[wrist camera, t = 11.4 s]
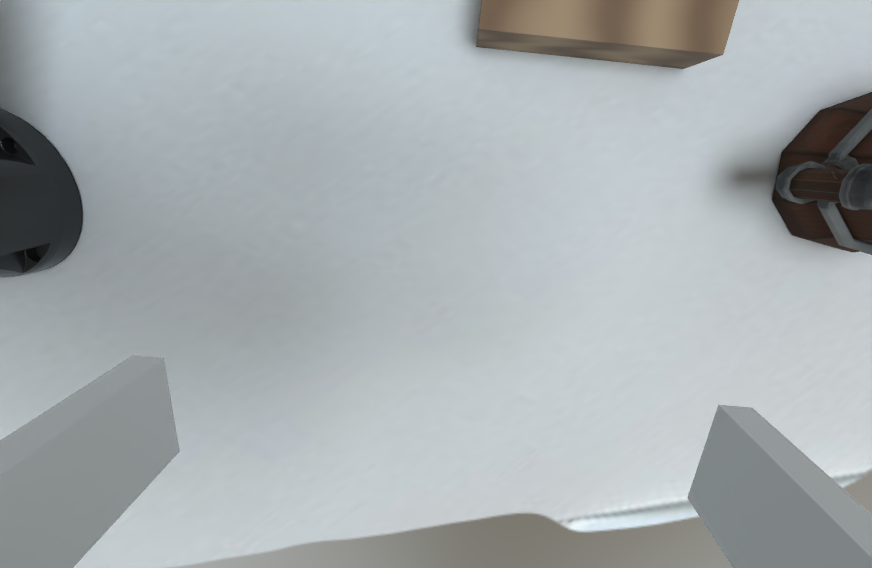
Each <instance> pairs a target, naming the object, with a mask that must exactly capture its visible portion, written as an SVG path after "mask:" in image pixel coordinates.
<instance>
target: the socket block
mask: <svg viewBox="0 0 872 568" xmlns="http://www.w3.org/2000/svg"><path fill="white" fill-rule="evenodd" d="M738 2H739V0H482V4H481V13H480V21H479V29H478V37H477V46H476V47H483V48H493V49H502V50H512V51H521V52H531V53H540V54H550V55H559V56H569V57H578V58H587V59H597V60H606V61H616V62H625V63H635V64H644V65H654V66H663V67H673V68H682V69H685V68H687V67H690V66H693V65H696V64H698V63H701V62H704V61H707V60H709V59H712V58H715V57H718V56H720V55H723V53H724V50H725V46H726V43H727V40H728V36H729V33H730V29H731V26H732V23H733V19H734V16H735V12H736V9H737V6H738Z"/></svg>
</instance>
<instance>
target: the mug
mask: <svg viewBox="0 0 872 568" xmlns="http://www.w3.org/2000/svg"><path fill="white" fill-rule="evenodd" d="M773 201H774V203H775V205H776V206H777V208H778V210H779V212H780V214H781V215H782V217H783V219H784V221H785V222H786V224H787V226H788V228H789V229H790V231H791V233H792V235H794V236H797V237H800V238H804V239H807V240H810V241H814V242H817V243H821V244H824V245H827V246H831V247H834V248H838V249H842V250H846V251H850V252H859V251H861V252H864V253H867V254H871V255H872V93H869V94H866V95H863V96H860V97H857V98H854V99H852V100H849V101H846V102H843V103H840V104H837V105H834V106H831V107H829V108H826V109H823V110H821V111H820V112H819V113H818V114H817V115H816V116H815V117H814V118H813V119H812V121H811V122H810V123H809V124H808V125H807V126H806V127H805V128H804V129H803V130H802V132H801V133H800V134H799V135H798V136H797V137H796V138H795V139H794V140H793V141H792V142H791V144H790V145H789V146H788V147H787V148H786V149H785V150H784V151H783V152H782V157H781V162H780V167H779V172H778V176H777V181H776V186H775V191H774V196H773Z"/></svg>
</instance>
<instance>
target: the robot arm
mask: <svg viewBox="0 0 872 568" xmlns="http://www.w3.org/2000/svg"><path fill="white" fill-rule="evenodd" d="M81 221H82V213H81V203H80V198H79V194H78V190H77V187H76V184H75V182H74V179H73V177H72V175H71V173H70V171H69V169H68V167H67V166H66V164H65V162H64V161H63V159H62V158H61V156H60V155H59V153H58V152H57V151H56V150H55V148H54V147H53V146H52V145H51V144H50V143H49V142H48V141H47V140H46V139H45V138H44V137H43V136H42V135H41V134H40V133H39V132H38V131H37V130H36V129H34V128H33V127H32V126H30V125H29V124H28V123H26V122H25V121H23V120H21V119H20V118H18V117H16V116H14V115H12V114H10V113H8V112H6V111H3V110H1V109H0V277H15V276H22V275H26V274H30V273H33V272H37V271H40V270H44V269H47V268H50V267H52V266H54V265H56V264H58V263H59V262H61V261H62V260H63V259H65V258H66V257H67V256H68V255H69V253H70V252H71V251H72V249H73V248H74V246H75V244H76V242H77V240H78V237H79V233H80V229H81ZM179 452H180V451H179V445H178V440H177V434H176V428H175V422H174V416H173V410H172V404H171V398H170V392H169V386H168V381H167V375H166V369H165V363H164V358H154V357H142V356H132V357H130V358H128V359H127V360H125V361H124V362H122V363H121V364H119V365H118V366H116V367H114V368H113V369H111V370H110V371H108V372H107V373H105V374H103V375H102V376H100V377H99V378H97V379H96V380H94V381H93V382H91V383H89V384H88V385H86V386H85V387H83V388H82V389H80V390H79V391H77V392H75V393H74V394H72V395H71V396H69V397H68V398H66V399H64V400H63V401H61V402H60V403H58V404H57V405H55V406H54V407H52V408H50V409H49V410H47V411H46V412H44V413H43V414H41V415H40V416H38V417H36V418H35V419H33V420H32V421H30V422H29V423H27V424H25V425H24V426H22V427H21V428H19V429H18V430H16V431H15V432H13V433H11V434H10V435H8V436H7V437H5V438H4V439H2V440H1V441H0V568H73V567H74V566H75V565H76V564H77V563H78V562H79V561H80V560H81V558H82V557H83V556H84V555H85V554H86V553H87V552H88V551H89V550H90V549H91V548H92V546H93V545H94V544H95V543H96V542H97V541H98V540H99V539H100V538H101V537H102V536H103V534H104V533H105V532H106V531H107V530H108V529H109V528H110V527H111V526H112V525H113V524H114V522H115V521H116V520H117V519H118V518H119V517H120V516H121V515H122V514H123V513H124V512H125V510H126V509H127V508H128V507H129V506H130V505H131V504H132V503H133V502H134V501H135V500H136V498H137V497H138V496H139V495H140V494H141V493H142V492H143V491H144V490H145V489H146V488H147V486H148V485H149V484H150V483H151V482H152V481H153V480H154V479H155V478H156V477H157V476H158V474H159V473H160V472H161V471H162V470H163V469H164V468H165V467H166V466H167V465H168V464H169V462H170V461H171V460H172V459H173V458H174V457H175V456H176V455H177V454H178V453H179ZM688 499H689V501H690V502H691V504H692V505H693V507H694V509H695V510H696V512H697V513H698V515H699V516H700V518H701V519H702V521H703V522H704V524H705V525H706V527H707V528H708V530H709V532H710V533H711V534H712V536H713V538H714V539H715V541H716V542H717V544H718V546H719V547H720V548H721V550H722V552H723V553H724V554H725V556H726V558H727V559H728V561H729V562H730V564H731V566H732V567H733V568H872V514H871V513H870V512H868V511H867V510H866V509H865V508H864V507H863V506H862V505H861V504H860V503H858V502H857V501H856V500H855V499H854V498H853V497H852V496H851V495H850V494H848V493H847V492H846V491H845V490H844V489H843V488H842V487H841V486H839V485H838V484H837V483H836V482H835V481H834V480H833V479H832V478H830V477H829V476H828V475H827V474H826V473H825V472H824V471H823V470H821V469H820V468H819V467H818V466H817V465H816V464H815V463H814V462H813V461H811V460H810V459H809V458H808V457H807V456H806V455H805V454H804V453H802V452H801V451H800V450H799V449H798V448H797V447H796V446H795V445H793V444H792V443H791V442H790V441H789V440H788V439H787V438H786V437H784V436H783V435H782V434H781V433H780V432H779V431H778V430H777V429H776V428H774V427H773V426H772V425H771V424H770V423H769V422H768V421H767V420H765V419H764V418H763V417H762V416H761V415H760V414H759V413H758V412H756V411H755V410H754V409H753V408H749V407H737V406H725V405H718V408H717V411H716V414H715V417H714V420H713V423H712V426H711V429H710V432H709V435H708V438H707V441H706V444H705V447H704V450H703V453H702V456H701V459H700V462H699V465H698V468H697V471H696V474H695V477H694V480H693V483H692V486H691V489H690V492H689V495H688Z"/></svg>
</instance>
